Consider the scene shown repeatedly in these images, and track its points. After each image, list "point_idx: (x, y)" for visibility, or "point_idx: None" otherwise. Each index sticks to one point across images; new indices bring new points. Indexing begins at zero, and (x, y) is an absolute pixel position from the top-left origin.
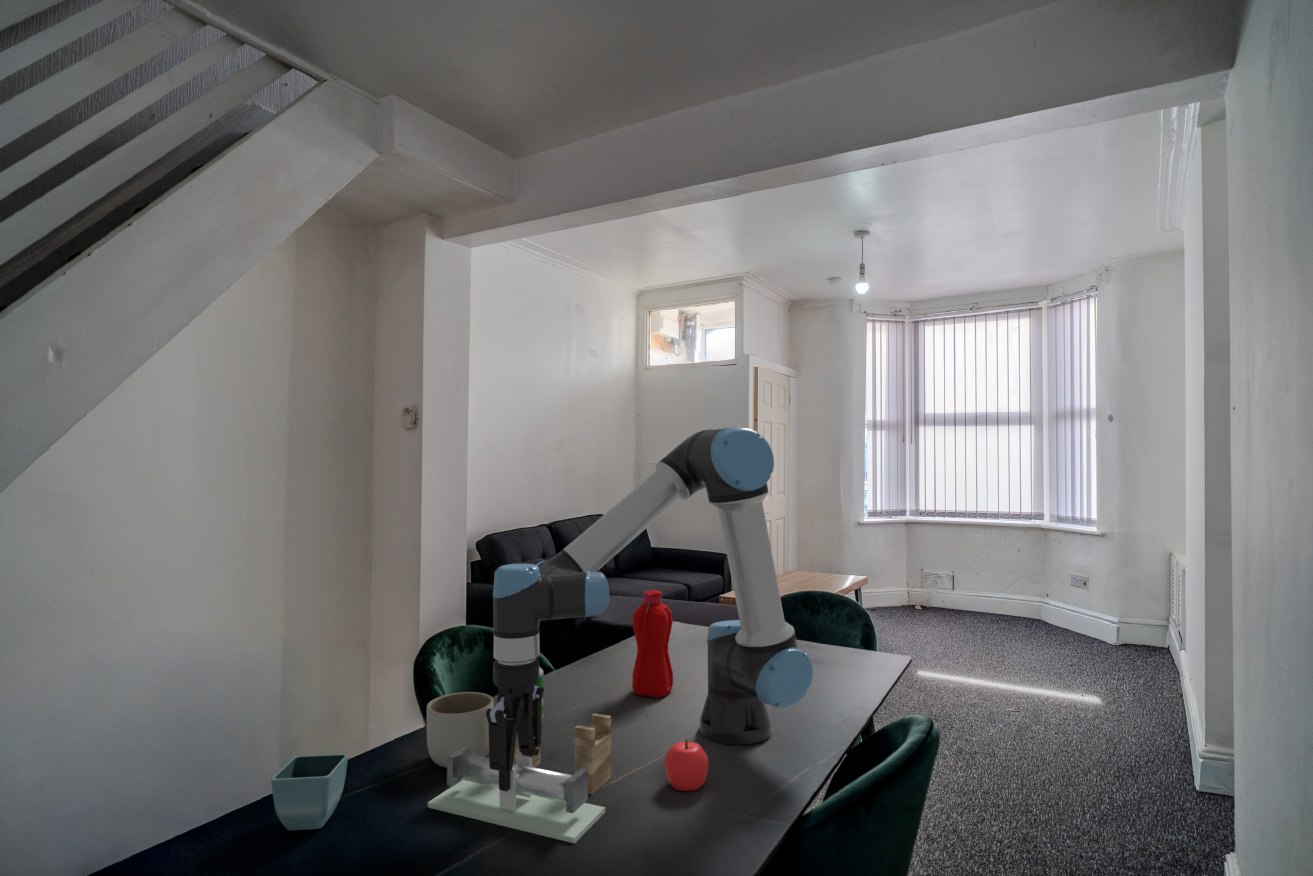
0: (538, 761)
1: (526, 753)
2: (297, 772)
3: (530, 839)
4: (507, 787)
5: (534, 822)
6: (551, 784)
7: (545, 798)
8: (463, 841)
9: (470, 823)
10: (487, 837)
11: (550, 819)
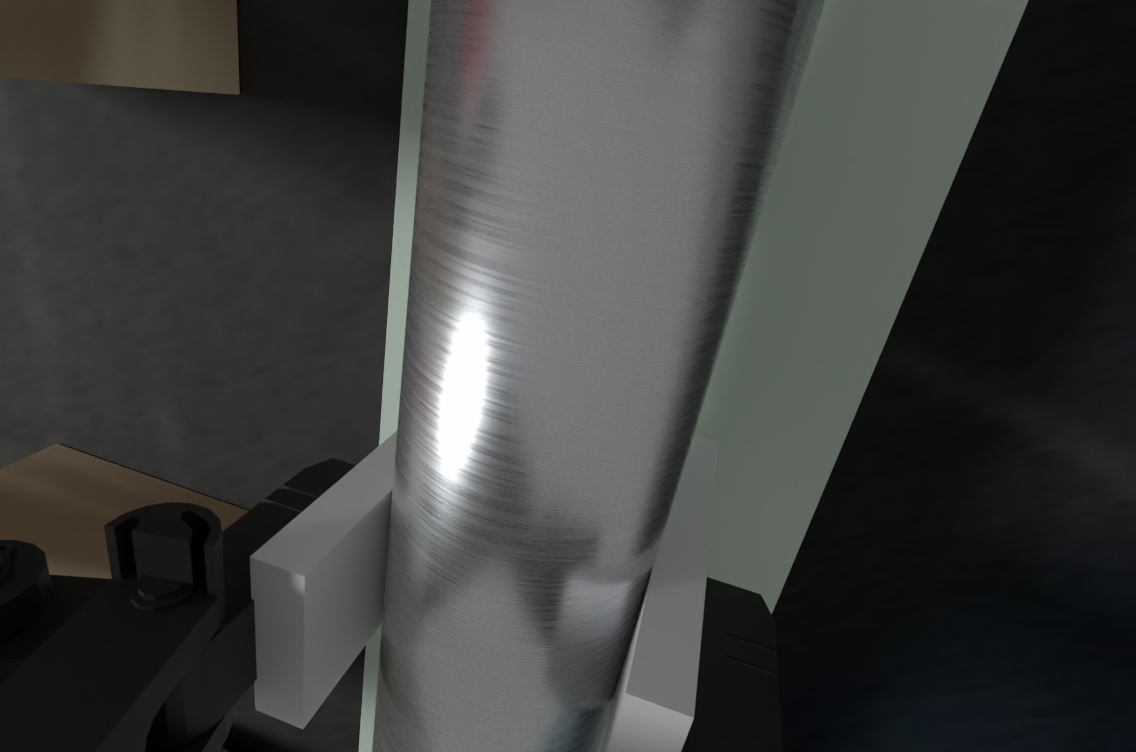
0: (55, 460)
1: (234, 648)
2: None
3: (1039, 181)
4: (749, 616)
5: (838, 221)
6: (785, 34)
7: None
8: (1055, 650)
9: (803, 654)
10: (997, 519)
11: None
